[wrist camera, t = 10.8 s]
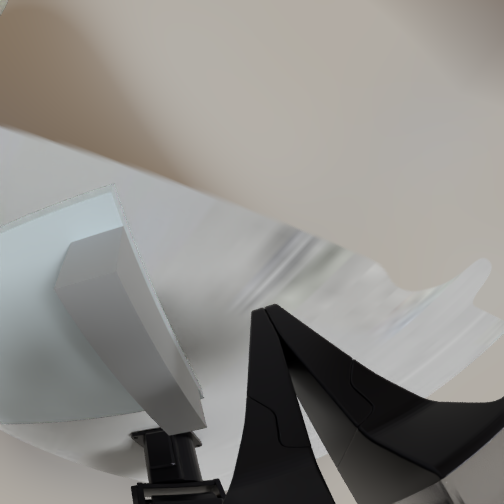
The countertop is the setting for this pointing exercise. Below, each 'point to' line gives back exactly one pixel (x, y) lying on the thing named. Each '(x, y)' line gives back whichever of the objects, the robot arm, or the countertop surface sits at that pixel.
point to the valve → (2, 5)
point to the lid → (86, 322)
